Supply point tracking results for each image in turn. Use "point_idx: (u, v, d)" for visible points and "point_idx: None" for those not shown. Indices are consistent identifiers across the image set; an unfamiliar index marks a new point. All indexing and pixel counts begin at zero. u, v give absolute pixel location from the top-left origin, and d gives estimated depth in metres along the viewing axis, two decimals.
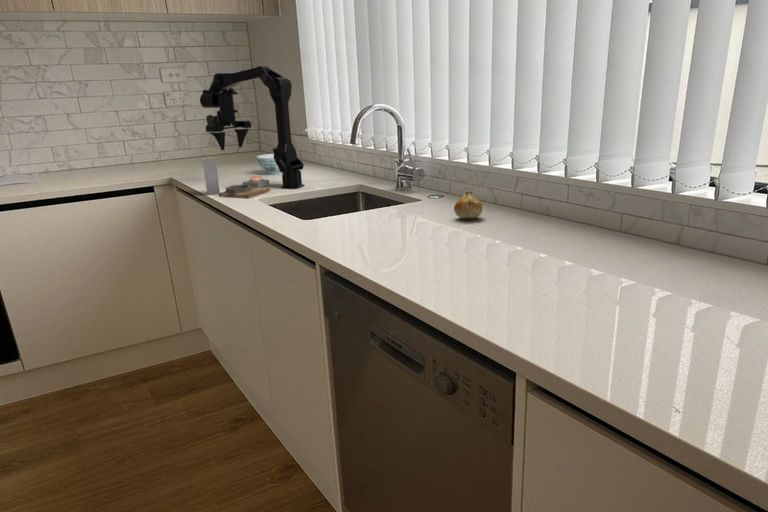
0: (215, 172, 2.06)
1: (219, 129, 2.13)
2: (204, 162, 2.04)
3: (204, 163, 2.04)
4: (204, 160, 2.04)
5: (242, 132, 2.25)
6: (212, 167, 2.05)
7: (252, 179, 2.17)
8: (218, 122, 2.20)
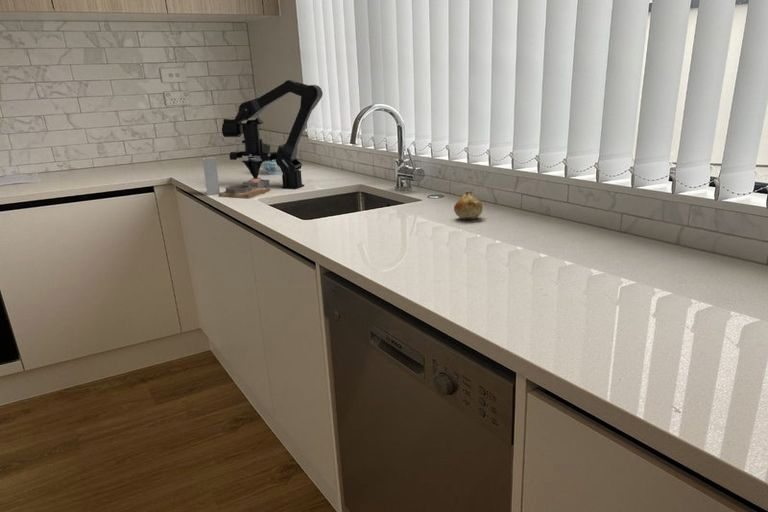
0: (215, 172, 2.06)
1: (231, 157, 2.16)
2: (204, 162, 2.04)
3: (204, 163, 2.04)
4: (204, 160, 2.04)
5: None
6: (212, 167, 2.05)
7: (252, 180, 2.17)
8: None
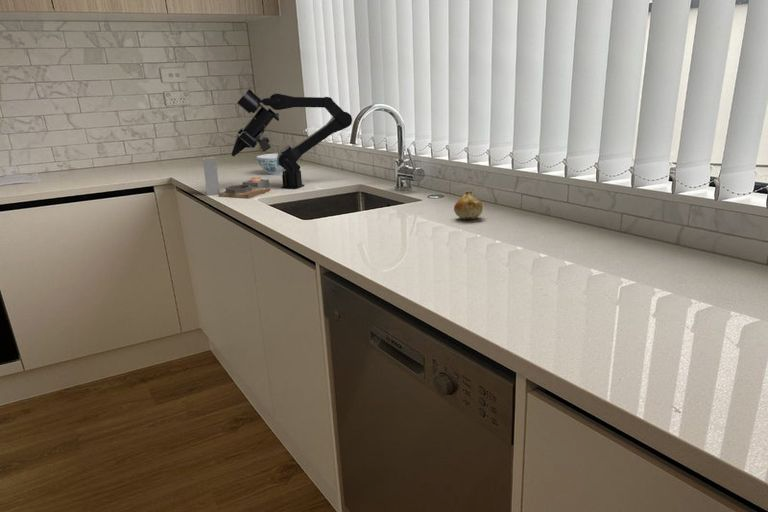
0: (215, 172, 2.06)
1: None
2: (204, 162, 2.04)
3: (204, 163, 2.04)
4: (204, 160, 2.04)
5: None
6: (212, 167, 2.05)
7: (252, 180, 2.17)
8: None
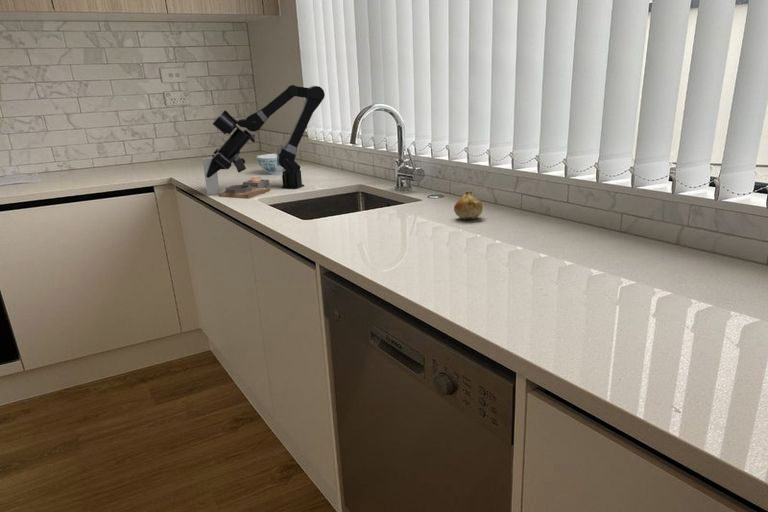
0: None
1: (214, 151, 2.13)
2: (204, 162, 2.04)
3: (204, 163, 2.04)
4: (204, 160, 2.04)
5: None
6: None
7: (252, 180, 2.17)
8: None
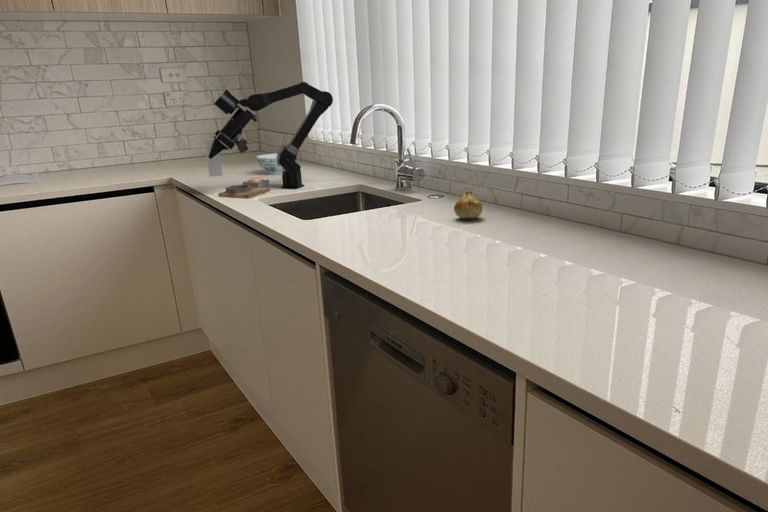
0: None
1: (215, 132, 2.10)
2: (206, 143, 2.01)
3: (206, 144, 2.01)
4: (206, 141, 2.01)
5: None
6: None
7: (252, 180, 2.17)
8: None
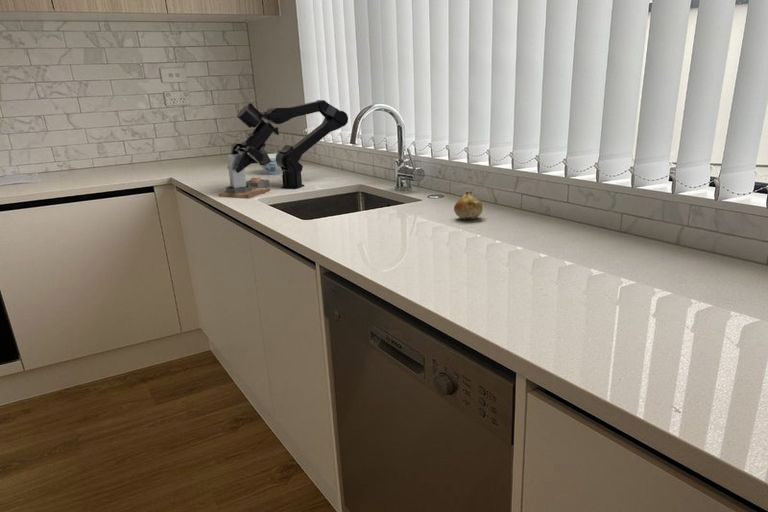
0: None
1: (233, 145, 2.09)
2: (232, 159, 2.00)
3: (232, 160, 2.00)
4: (232, 157, 2.00)
5: None
6: None
7: (252, 180, 2.17)
8: None
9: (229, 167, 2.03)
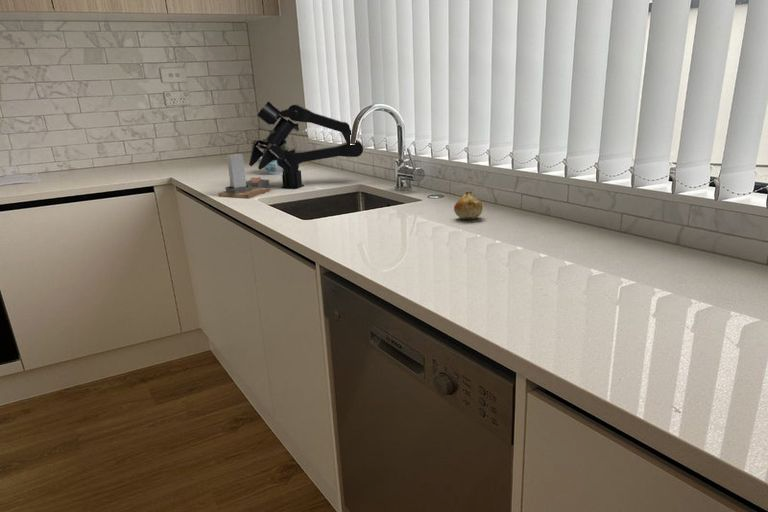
0: (242, 169, 2.03)
1: (253, 142, 2.13)
2: (232, 159, 2.00)
3: (232, 160, 2.00)
4: (232, 157, 2.00)
5: None
6: (239, 163, 2.02)
7: (252, 180, 2.17)
8: None
9: (229, 167, 2.03)
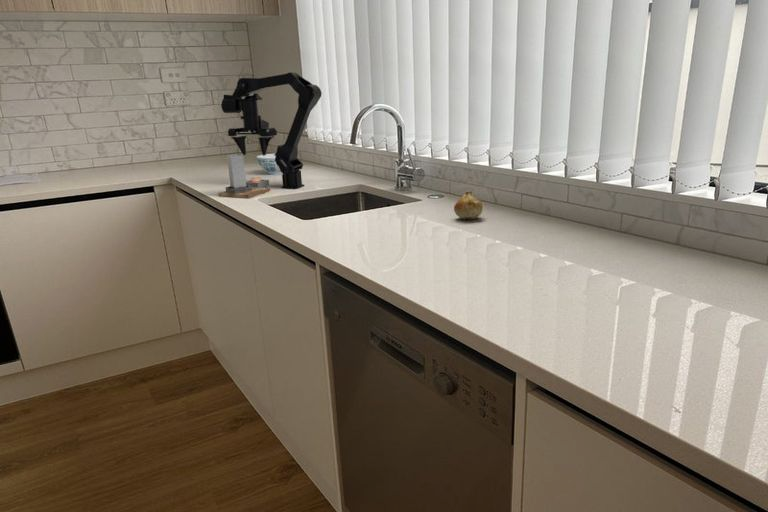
0: (242, 169, 2.03)
1: (230, 134, 2.16)
2: (232, 159, 2.00)
3: (232, 160, 2.00)
4: (232, 157, 2.00)
5: None
6: (239, 163, 2.02)
7: (252, 180, 2.17)
8: None
9: (229, 167, 2.03)
